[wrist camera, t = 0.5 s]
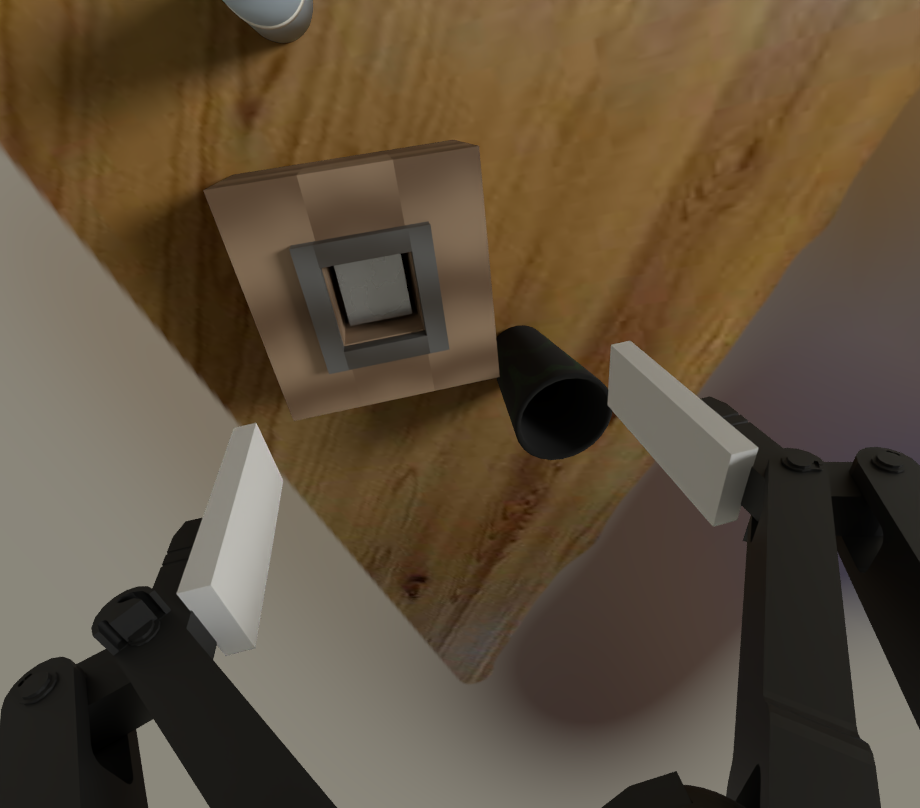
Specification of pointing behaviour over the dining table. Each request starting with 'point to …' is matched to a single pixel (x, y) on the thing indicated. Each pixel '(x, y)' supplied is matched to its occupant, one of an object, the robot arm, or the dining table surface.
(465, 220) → the socket block
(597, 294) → the dining table surface
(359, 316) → the grey square plate
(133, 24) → the dining table surface
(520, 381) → the cup
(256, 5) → the peg
